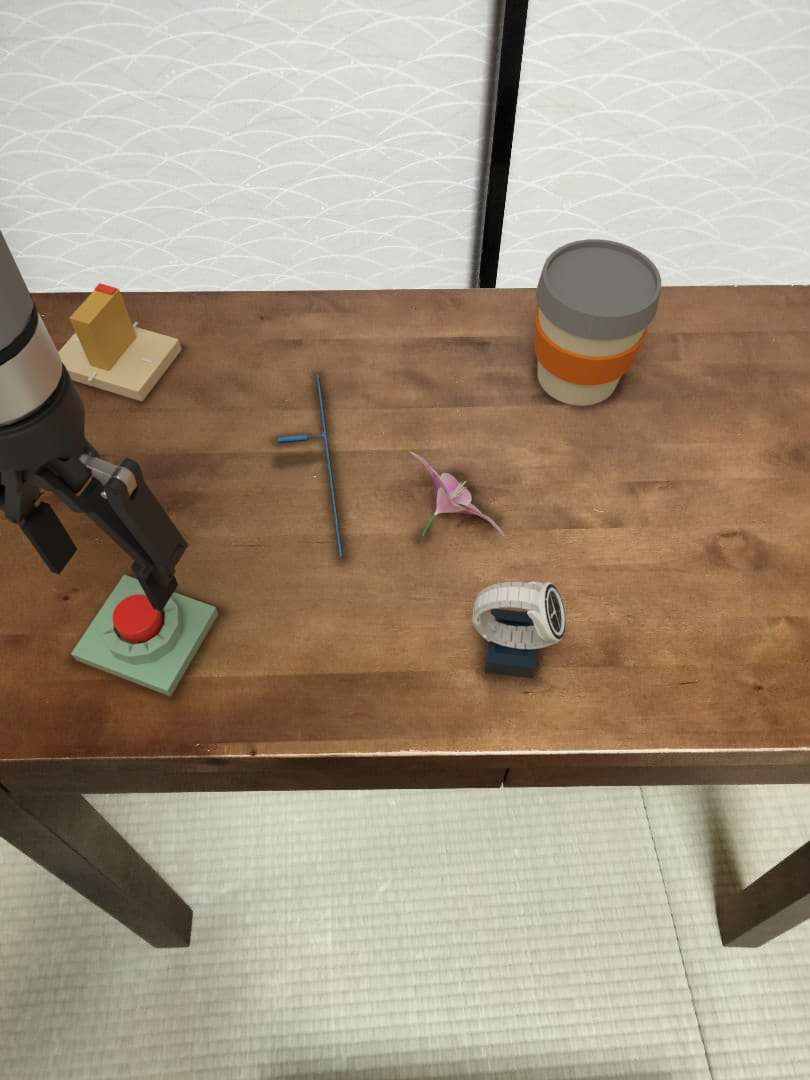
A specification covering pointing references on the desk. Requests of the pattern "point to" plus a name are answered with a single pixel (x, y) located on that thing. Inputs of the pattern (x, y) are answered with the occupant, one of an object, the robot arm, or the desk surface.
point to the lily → (451, 496)
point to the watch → (518, 624)
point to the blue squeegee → (304, 437)
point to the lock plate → (124, 364)
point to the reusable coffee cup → (592, 317)
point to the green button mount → (154, 658)
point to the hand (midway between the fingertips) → (114, 578)
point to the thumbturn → (103, 326)
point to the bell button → (137, 619)
